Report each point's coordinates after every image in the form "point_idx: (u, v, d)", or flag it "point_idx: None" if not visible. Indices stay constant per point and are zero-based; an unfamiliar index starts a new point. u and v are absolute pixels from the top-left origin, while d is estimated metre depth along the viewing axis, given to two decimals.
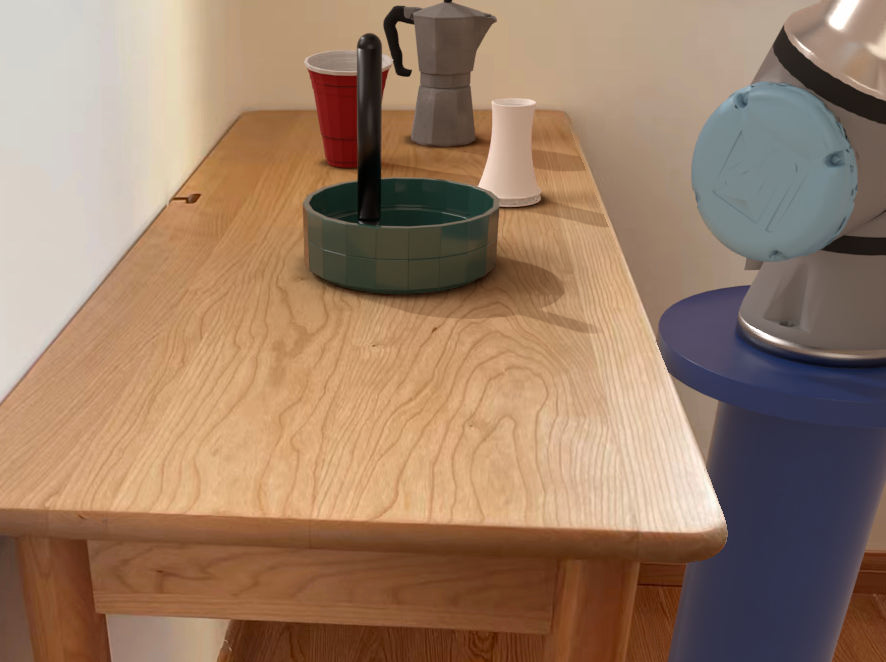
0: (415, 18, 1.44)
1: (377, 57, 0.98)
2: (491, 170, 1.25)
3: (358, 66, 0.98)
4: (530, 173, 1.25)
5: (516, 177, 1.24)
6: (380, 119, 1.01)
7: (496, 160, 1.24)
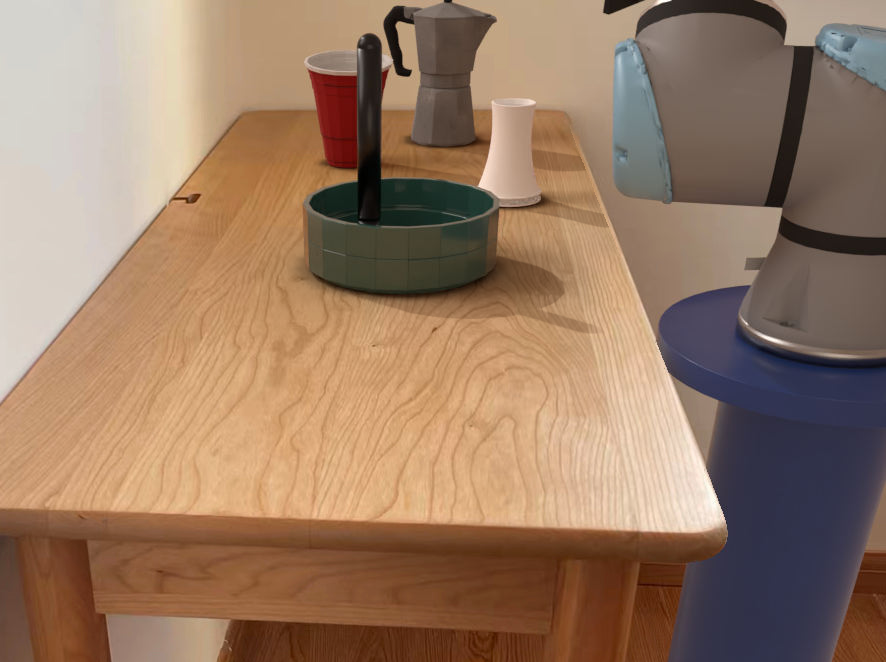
0: (415, 18, 1.44)
1: (377, 57, 0.98)
2: (491, 170, 1.25)
3: (358, 66, 0.98)
4: (530, 173, 1.25)
5: (516, 177, 1.24)
6: (380, 119, 1.01)
7: (496, 160, 1.24)
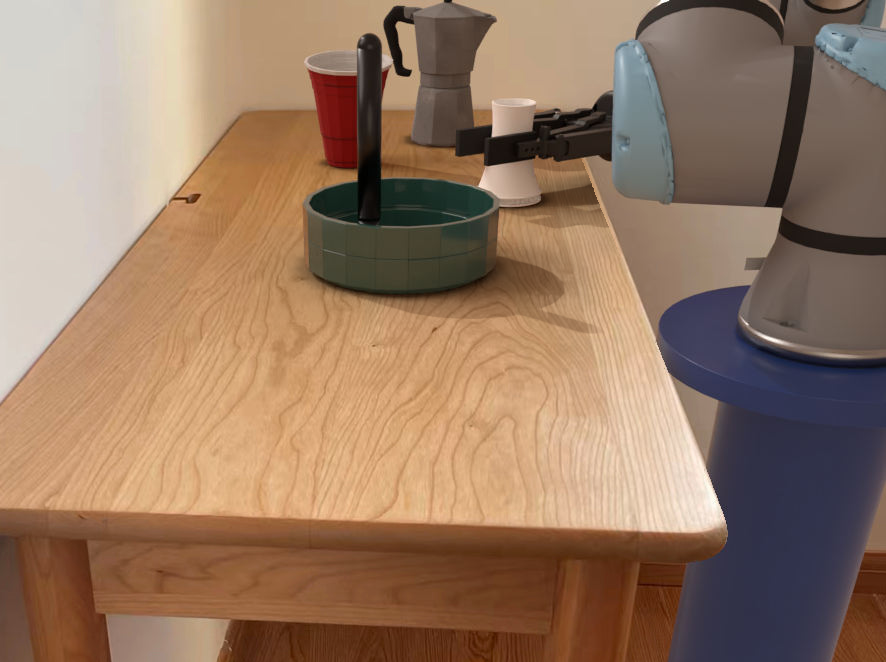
0: (415, 18, 1.44)
1: (377, 57, 0.98)
2: (491, 170, 1.25)
3: (358, 66, 0.98)
4: (530, 173, 1.25)
5: (516, 177, 1.24)
6: (380, 119, 1.01)
7: None
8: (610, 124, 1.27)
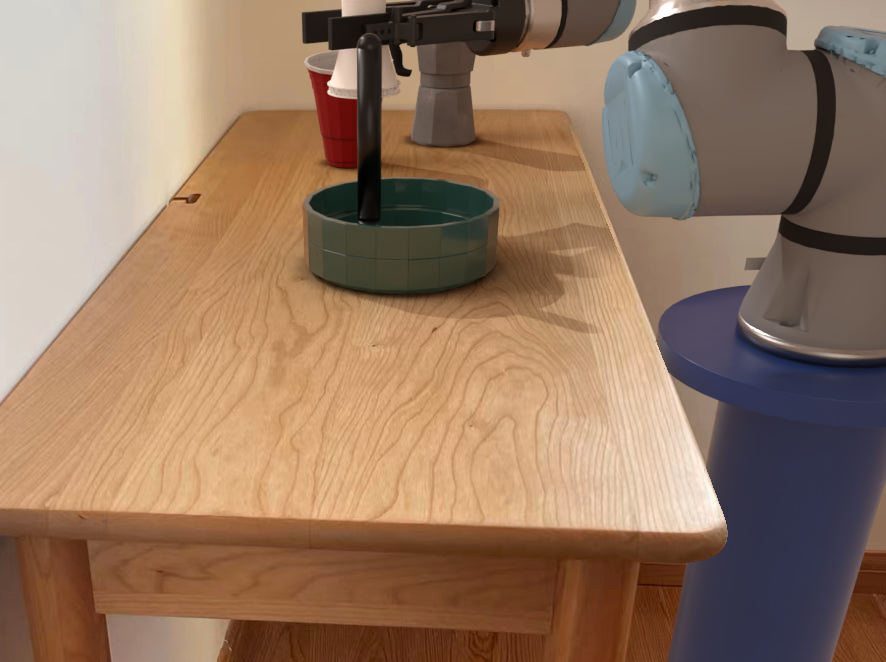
0: None
1: (377, 57, 0.98)
2: (342, 58, 1.14)
3: (358, 66, 0.98)
4: (385, 62, 1.14)
5: None
6: (380, 119, 1.01)
7: None
8: (475, 9, 1.15)
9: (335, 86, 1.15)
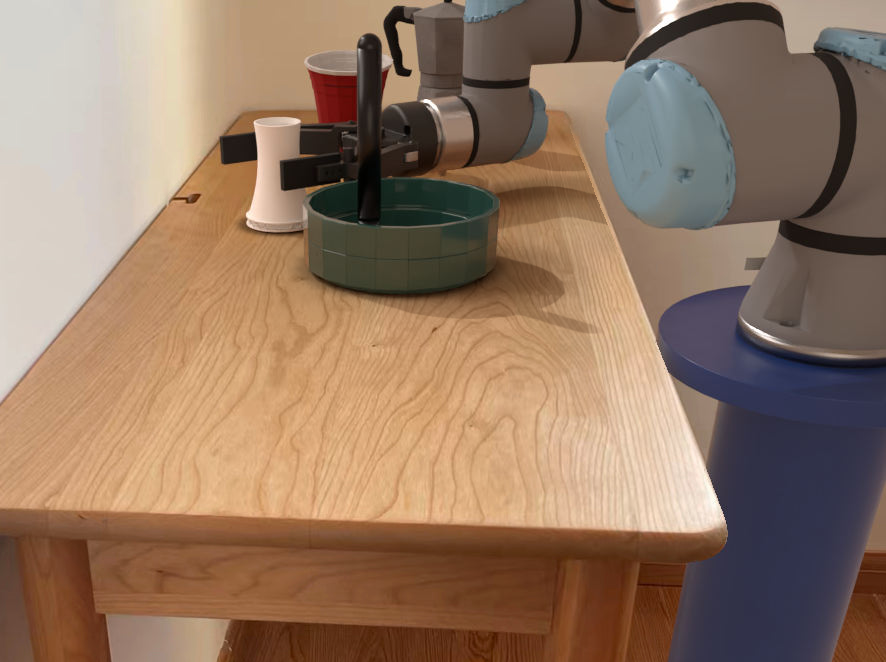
0: (415, 18, 1.44)
1: (377, 57, 0.98)
2: (258, 193, 1.18)
3: (358, 66, 0.98)
4: (300, 196, 1.18)
5: (284, 201, 1.17)
6: (380, 119, 1.01)
7: (262, 182, 1.17)
8: (387, 140, 1.19)
9: (253, 219, 1.19)
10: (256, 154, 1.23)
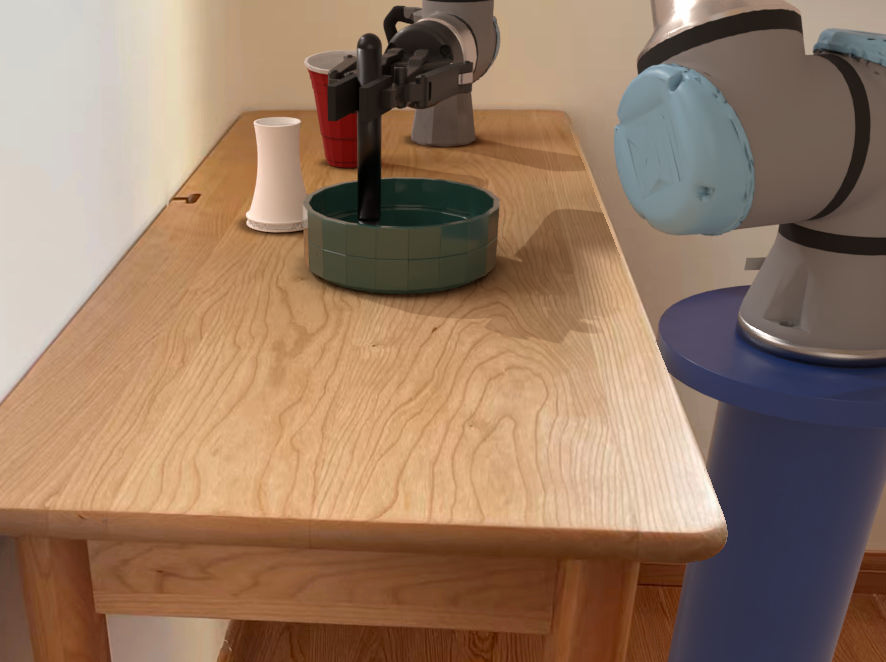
0: (415, 18, 1.44)
1: (377, 57, 0.98)
2: (258, 193, 1.18)
3: (358, 66, 0.98)
4: (300, 196, 1.18)
5: (284, 201, 1.17)
6: (380, 119, 1.01)
7: (262, 182, 1.17)
8: (441, 61, 1.07)
9: (253, 219, 1.19)
10: (351, 105, 1.00)
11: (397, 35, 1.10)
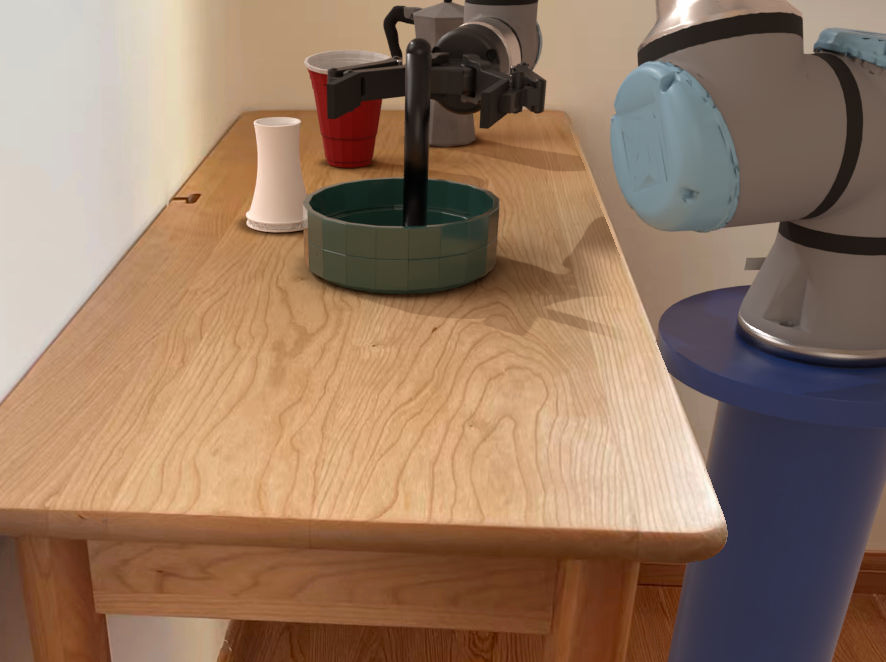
0: (415, 18, 1.44)
1: (427, 62, 0.95)
2: (258, 193, 1.18)
3: (407, 71, 0.96)
4: (300, 196, 1.18)
5: (284, 201, 1.17)
6: (428, 126, 0.98)
7: (262, 182, 1.17)
8: None
9: (253, 219, 1.19)
10: (351, 103, 1.00)
11: (442, 39, 1.07)
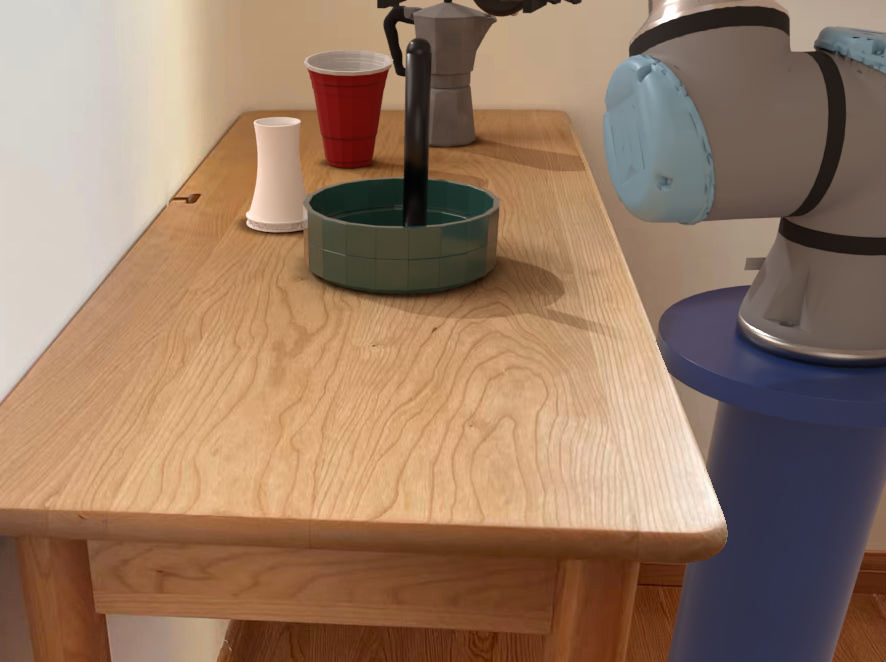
0: (415, 18, 1.44)
1: (427, 62, 0.95)
2: (258, 193, 1.18)
3: (407, 71, 0.96)
4: (300, 196, 1.18)
5: (284, 201, 1.17)
6: (428, 126, 0.98)
7: (262, 182, 1.17)
8: None
9: (253, 219, 1.19)
10: None
11: None
